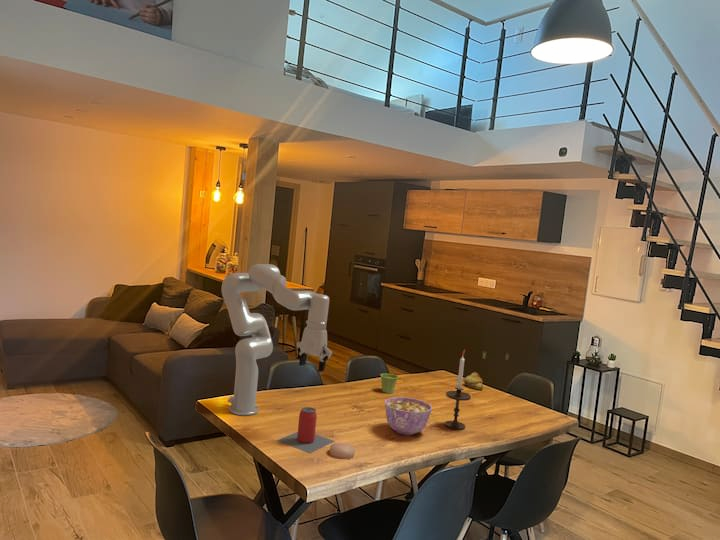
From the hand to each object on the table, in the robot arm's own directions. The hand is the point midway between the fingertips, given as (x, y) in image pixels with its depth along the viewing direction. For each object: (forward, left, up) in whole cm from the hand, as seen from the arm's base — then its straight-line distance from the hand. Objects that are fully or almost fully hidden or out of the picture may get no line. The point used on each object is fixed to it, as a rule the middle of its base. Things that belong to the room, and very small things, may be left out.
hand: (311, 368), depth 211 cm
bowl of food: (+29, +32, -26) cm, 50 cm away
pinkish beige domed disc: (+23, -8, -26) cm, 35 cm away
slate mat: (+7, -8, -26) cm, 28 cm away
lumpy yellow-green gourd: (+24, +128, -26) cm, 133 cm away
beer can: (+6, -8, -26) cm, 27 cm away
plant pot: (-5, +78, -26) cm, 82 cm away
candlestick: (+42, +55, -26) cm, 74 cm away
